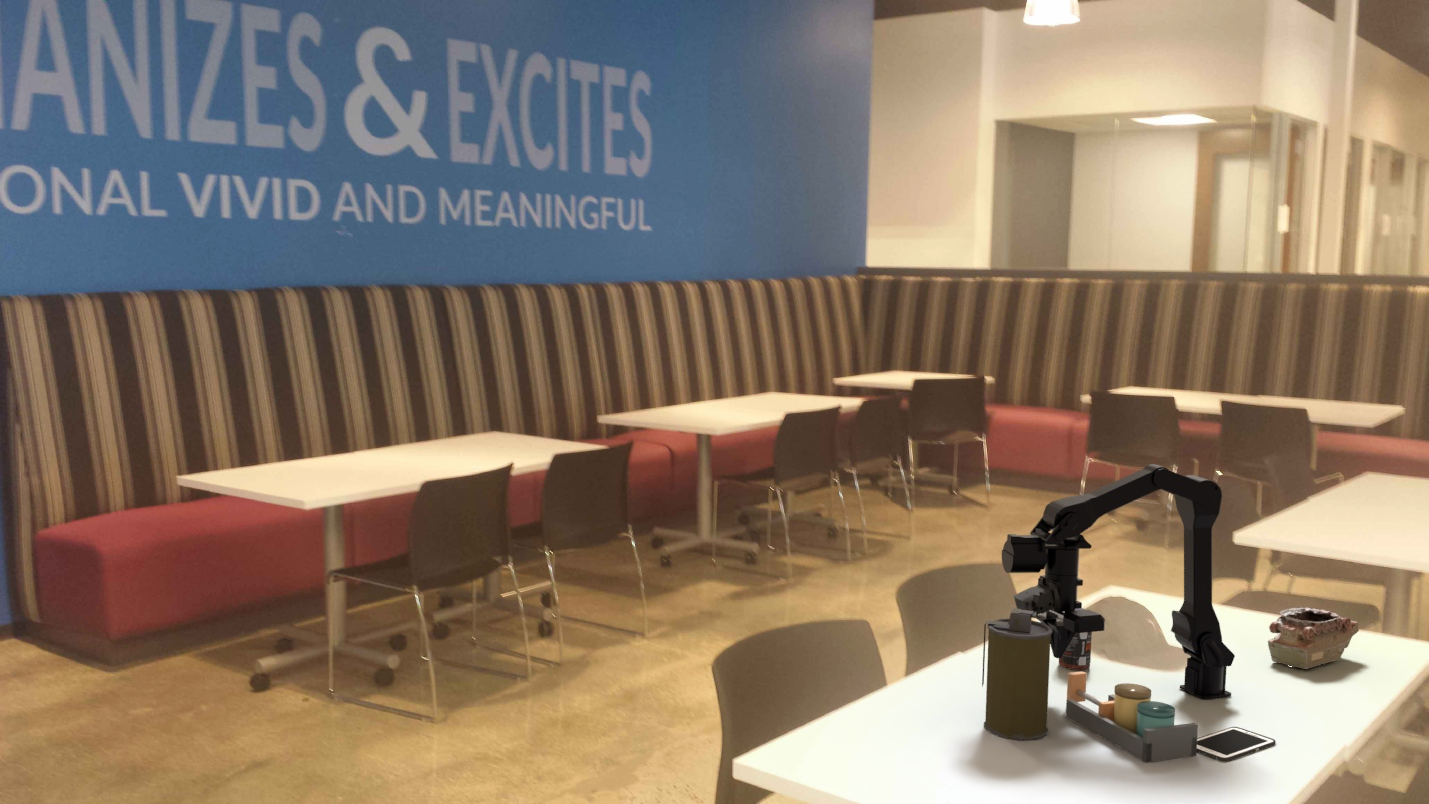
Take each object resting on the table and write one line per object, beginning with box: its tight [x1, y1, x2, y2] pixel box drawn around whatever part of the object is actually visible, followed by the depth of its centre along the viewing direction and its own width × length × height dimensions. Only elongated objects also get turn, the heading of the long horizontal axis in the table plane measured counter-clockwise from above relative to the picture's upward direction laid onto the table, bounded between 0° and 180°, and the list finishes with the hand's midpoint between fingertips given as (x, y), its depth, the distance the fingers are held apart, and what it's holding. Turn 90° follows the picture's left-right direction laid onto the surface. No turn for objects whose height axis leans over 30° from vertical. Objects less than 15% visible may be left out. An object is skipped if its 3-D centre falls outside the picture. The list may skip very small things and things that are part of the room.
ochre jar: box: [1113, 682, 1152, 734], centre depth 200 cm, size 6×6×8 cm
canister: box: [981, 607, 1053, 741], centre depth 202 cm, size 11×10×20 cm
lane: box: [1065, 694, 1199, 763], centre depth 200 cm, size 10×21×5 cm, turn 19°
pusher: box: [1066, 670, 1114, 721], centre depth 208 cm, size 7×13×6 cm, turn 19°
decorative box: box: [1267, 606, 1360, 670], centre depth 244 cm, size 13×20×10 cm, turn 117°
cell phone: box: [1196, 726, 1276, 763], centre depth 197 cm, size 8×15×1 cm, turn 124°
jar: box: [1136, 700, 1176, 738], centre depth 194 cm, size 6×6×7 cm
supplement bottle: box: [1058, 607, 1093, 671], centre depth 236 cm, size 6×6×11 cm
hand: (1057, 657), depth 219 cm, fingers closed
